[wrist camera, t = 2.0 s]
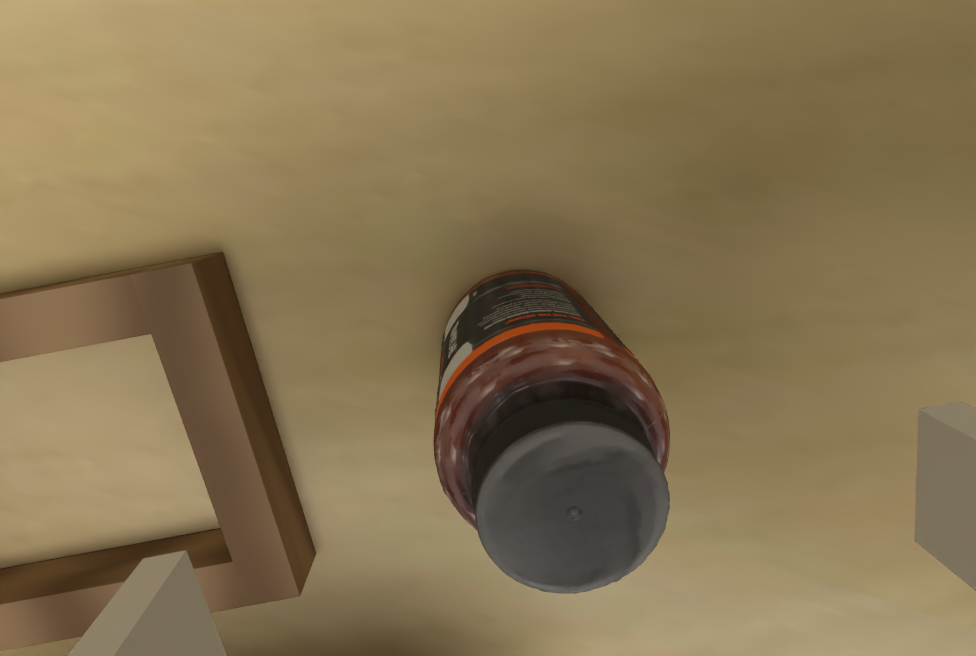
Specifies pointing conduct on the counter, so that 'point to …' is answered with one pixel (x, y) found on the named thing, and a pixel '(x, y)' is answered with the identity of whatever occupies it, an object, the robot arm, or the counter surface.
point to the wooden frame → (210, 428)
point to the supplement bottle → (549, 435)
